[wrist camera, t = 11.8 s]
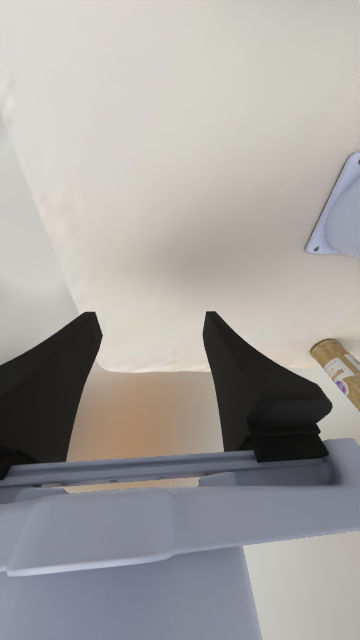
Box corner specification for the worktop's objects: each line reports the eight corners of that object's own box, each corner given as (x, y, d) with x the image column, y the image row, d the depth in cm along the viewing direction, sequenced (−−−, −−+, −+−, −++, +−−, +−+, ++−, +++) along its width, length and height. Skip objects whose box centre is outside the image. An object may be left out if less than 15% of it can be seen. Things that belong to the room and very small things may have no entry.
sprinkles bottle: (307, 346, 30) (385, 436, 19) (337, 334, 28) (438, 425, 18) (311, 359, 32) (382, 446, 22) (338, 349, 31) (428, 436, 20)
